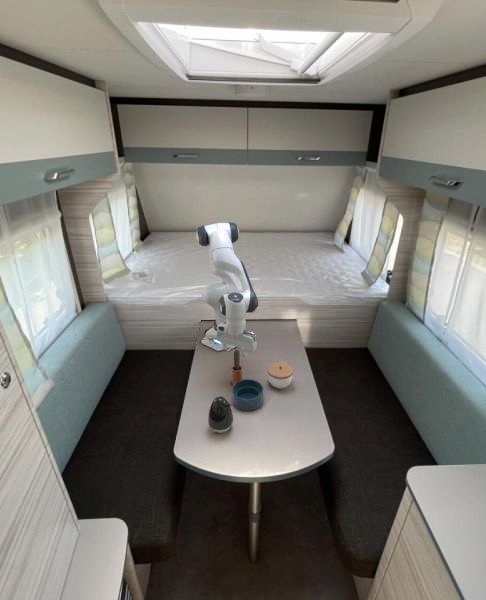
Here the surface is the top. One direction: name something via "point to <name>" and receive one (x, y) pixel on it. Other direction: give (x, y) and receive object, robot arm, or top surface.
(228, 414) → the black rounded egg shape
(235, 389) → the mixing bowl
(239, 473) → the top surface
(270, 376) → the lidded bowl
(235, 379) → the pot
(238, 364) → the stirring stick
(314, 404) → the top surface
